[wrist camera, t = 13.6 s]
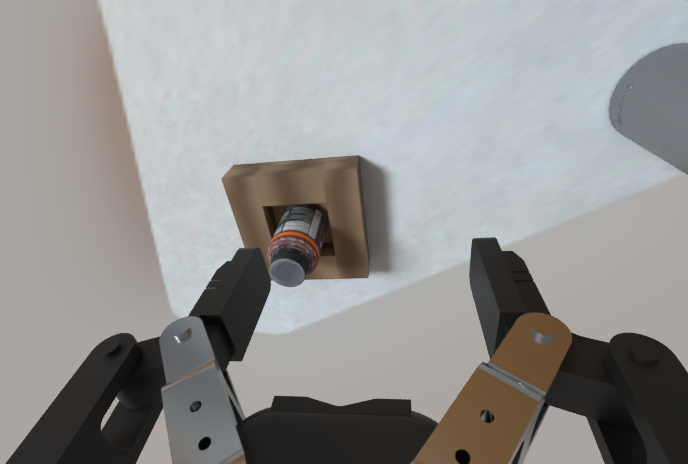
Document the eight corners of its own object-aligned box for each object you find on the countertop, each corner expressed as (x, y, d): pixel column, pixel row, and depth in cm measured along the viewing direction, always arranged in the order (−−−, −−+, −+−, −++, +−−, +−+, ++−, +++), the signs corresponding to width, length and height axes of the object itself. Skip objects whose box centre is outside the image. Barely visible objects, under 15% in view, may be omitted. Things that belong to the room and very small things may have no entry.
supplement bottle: (321, 242, 49) (306, 301, 40) (280, 229, 48) (254, 285, 39) (333, 207, 46) (320, 262, 36) (289, 193, 45) (264, 245, 36)
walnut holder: (358, 155, 42) (356, 169, 39) (369, 259, 51) (368, 277, 48) (233, 165, 45) (221, 178, 41) (264, 263, 54) (256, 280, 50)
